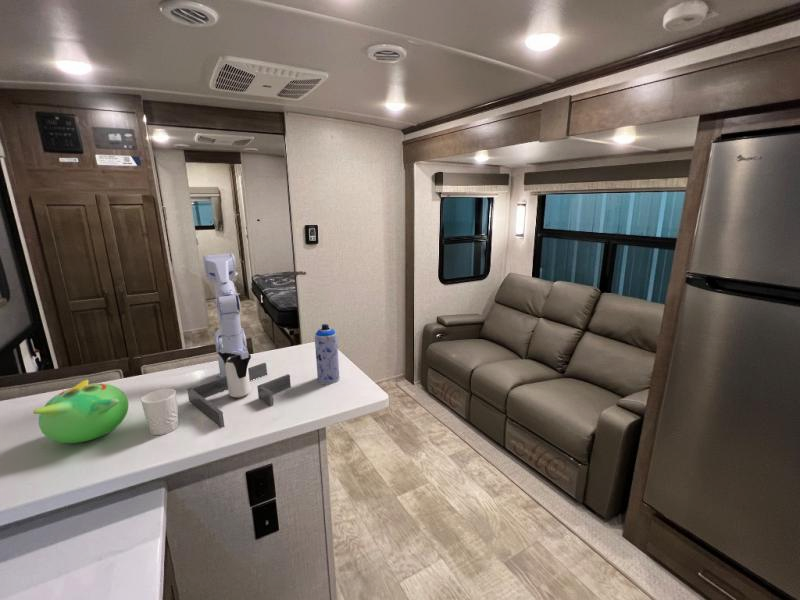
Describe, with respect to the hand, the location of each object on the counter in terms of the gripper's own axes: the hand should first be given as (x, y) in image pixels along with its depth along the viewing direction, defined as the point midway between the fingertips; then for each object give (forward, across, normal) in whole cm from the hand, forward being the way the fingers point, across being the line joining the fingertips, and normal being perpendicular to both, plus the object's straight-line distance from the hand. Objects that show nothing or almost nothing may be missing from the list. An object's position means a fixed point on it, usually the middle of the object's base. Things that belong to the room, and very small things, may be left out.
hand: (236, 374), depth 118 cm
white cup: (+8, +2, -22) cm, 24 cm away
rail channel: (+7, +3, +1) cm, 8 cm away
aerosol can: (+8, +13, +26) cm, 30 cm away
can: (+7, 0, 0) cm, 7 cm away
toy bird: (+8, -9, -36) cm, 38 cm away
